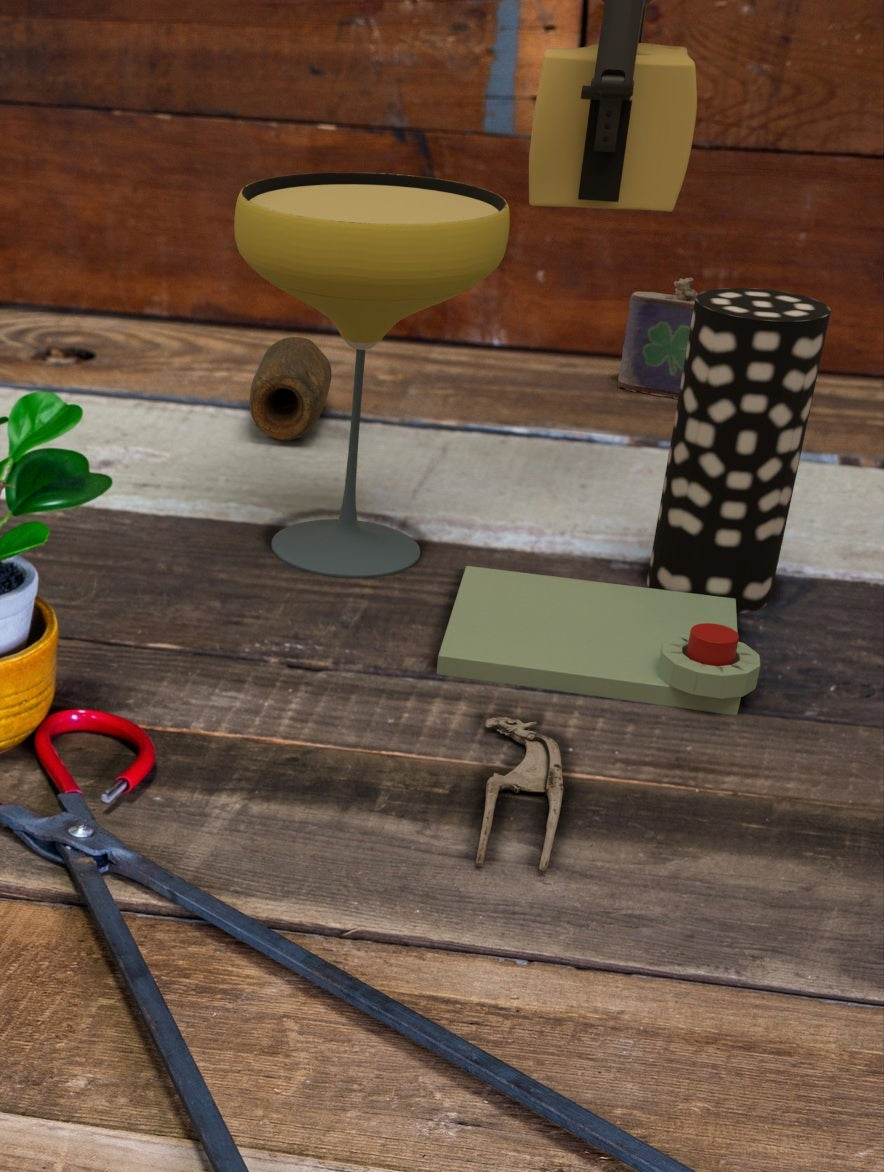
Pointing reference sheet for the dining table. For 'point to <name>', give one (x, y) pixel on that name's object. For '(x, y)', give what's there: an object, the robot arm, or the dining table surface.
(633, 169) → the cheese
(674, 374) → the flask
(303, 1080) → the dining table surface
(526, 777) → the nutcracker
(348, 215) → the cocktail glass
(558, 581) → the scale
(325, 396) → the brown hollow cylinder
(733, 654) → the button
